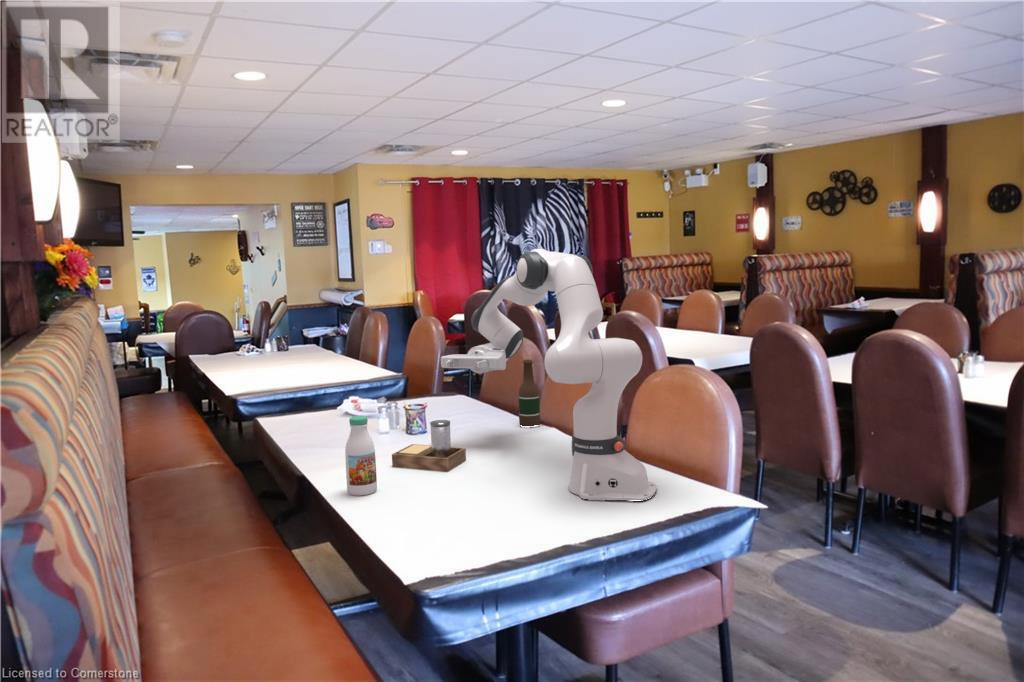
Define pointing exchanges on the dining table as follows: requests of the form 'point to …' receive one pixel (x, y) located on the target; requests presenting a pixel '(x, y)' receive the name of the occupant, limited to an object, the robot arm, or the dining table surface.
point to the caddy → (429, 460)
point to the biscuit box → (417, 450)
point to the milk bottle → (360, 459)
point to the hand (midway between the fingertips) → (462, 365)
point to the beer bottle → (528, 398)
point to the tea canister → (440, 438)
